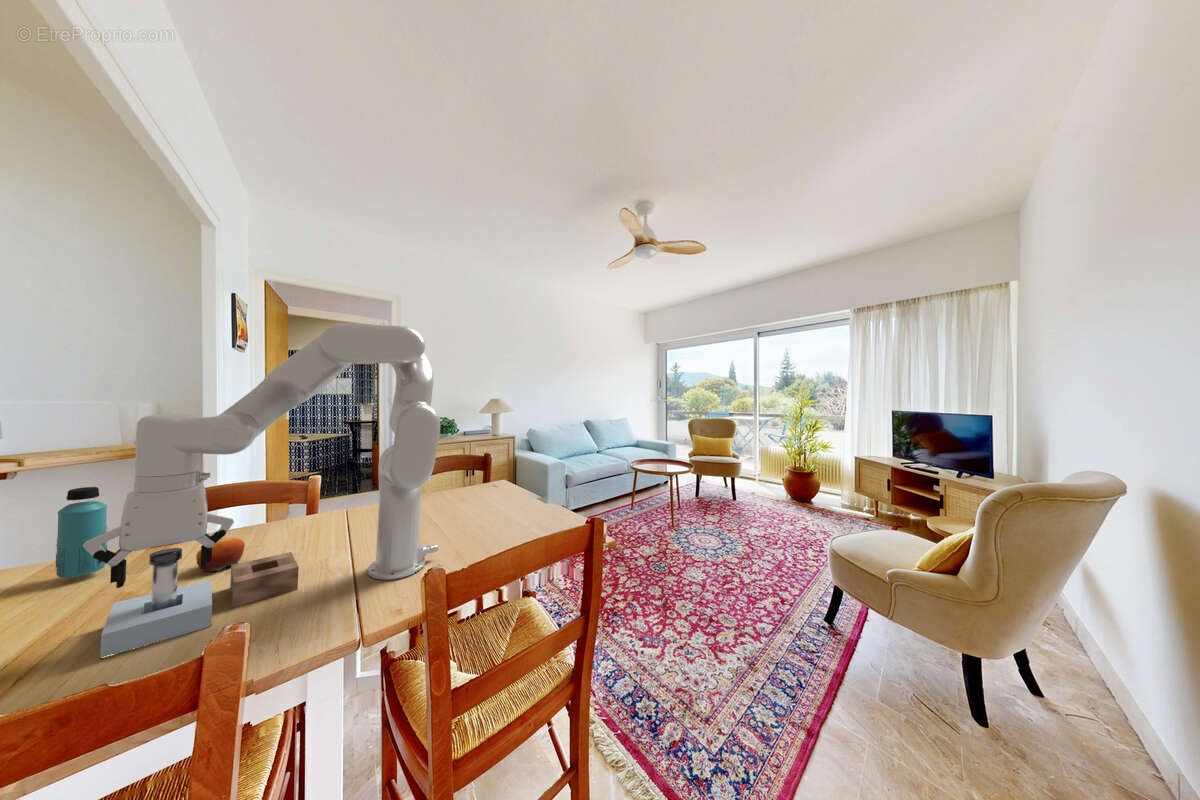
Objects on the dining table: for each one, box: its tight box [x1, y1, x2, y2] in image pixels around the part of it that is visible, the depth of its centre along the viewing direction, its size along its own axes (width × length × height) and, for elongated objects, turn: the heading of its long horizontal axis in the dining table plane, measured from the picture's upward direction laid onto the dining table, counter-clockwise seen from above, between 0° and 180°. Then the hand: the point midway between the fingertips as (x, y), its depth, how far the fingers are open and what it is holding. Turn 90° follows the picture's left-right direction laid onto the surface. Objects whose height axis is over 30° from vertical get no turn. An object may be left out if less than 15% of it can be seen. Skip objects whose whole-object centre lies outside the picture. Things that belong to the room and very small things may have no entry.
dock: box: [99, 579, 213, 658], centre depth 65 cm, size 12×12×4 cm
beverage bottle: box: [54, 486, 109, 579], centre depth 79 cm, size 6×7×20 cm
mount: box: [229, 551, 299, 609], centre depth 78 cm, size 10×10×5 cm
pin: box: [148, 547, 183, 612], centre depth 65 cm, size 4×4×14 cm
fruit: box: [196, 536, 246, 572], centre depth 87 cm, size 8×8×8 cm
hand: (164, 575), depth 65 cm, fingers open, 9 cm apart
